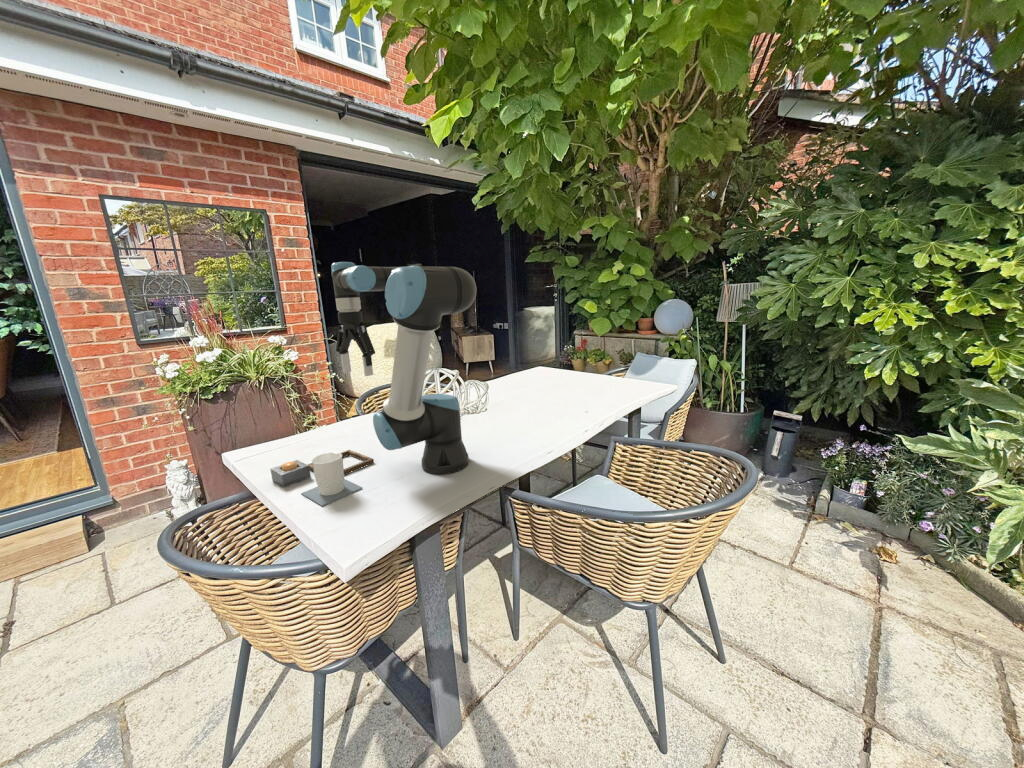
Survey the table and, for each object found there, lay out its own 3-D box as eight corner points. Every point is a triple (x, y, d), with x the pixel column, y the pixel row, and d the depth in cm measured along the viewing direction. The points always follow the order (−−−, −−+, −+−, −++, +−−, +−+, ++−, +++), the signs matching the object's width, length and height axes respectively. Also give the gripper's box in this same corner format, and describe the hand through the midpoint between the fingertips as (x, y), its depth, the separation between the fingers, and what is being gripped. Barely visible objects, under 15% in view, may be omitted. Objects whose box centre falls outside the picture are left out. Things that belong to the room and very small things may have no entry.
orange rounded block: (300, 475, 123) (298, 463, 122) (287, 480, 120) (285, 468, 119) (294, 472, 126) (292, 460, 125) (281, 477, 123) (279, 464, 122)
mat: (362, 488, 115) (362, 487, 115) (322, 506, 106) (321, 505, 106) (341, 478, 122) (340, 477, 122) (301, 494, 113) (301, 493, 113)
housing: (310, 477, 124) (308, 465, 123) (283, 487, 118) (281, 475, 117) (299, 471, 129) (297, 459, 128) (272, 480, 123) (270, 468, 122)
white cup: (328, 499, 109) (322, 465, 106) (311, 493, 113) (305, 460, 110) (352, 487, 115) (348, 455, 113) (335, 481, 119) (331, 450, 117)
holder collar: (373, 463, 133) (373, 458, 132) (330, 480, 121) (330, 475, 121) (349, 453, 142) (349, 449, 141) (307, 468, 130) (306, 464, 130)
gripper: (381, 309, 127) (388, 374, 131) (340, 310, 142) (348, 369, 147) (360, 311, 121) (368, 379, 126) (319, 312, 136) (328, 372, 141)
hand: (357, 373), depth 136 cm, fingers open, 13 cm apart
